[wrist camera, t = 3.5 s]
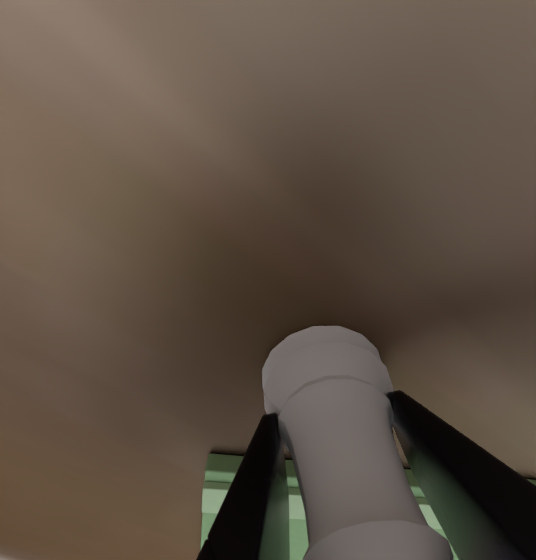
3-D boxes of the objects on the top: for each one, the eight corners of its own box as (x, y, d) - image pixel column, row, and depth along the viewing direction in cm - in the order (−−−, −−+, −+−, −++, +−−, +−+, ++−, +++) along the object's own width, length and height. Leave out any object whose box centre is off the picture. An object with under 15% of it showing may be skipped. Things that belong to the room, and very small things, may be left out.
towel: (587, 483, 13) (616, 510, 12) (484, 608, 17) (499, 636, 16) (208, 452, 12) (203, 478, 11) (199, 593, 16) (194, 622, 15)
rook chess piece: (252, 405, 11) (222, 927, 3) (273, 308, 9) (308, 870, 2) (357, 420, 11) (552, 925, 4) (394, 328, 10) (877, 876, 2)
